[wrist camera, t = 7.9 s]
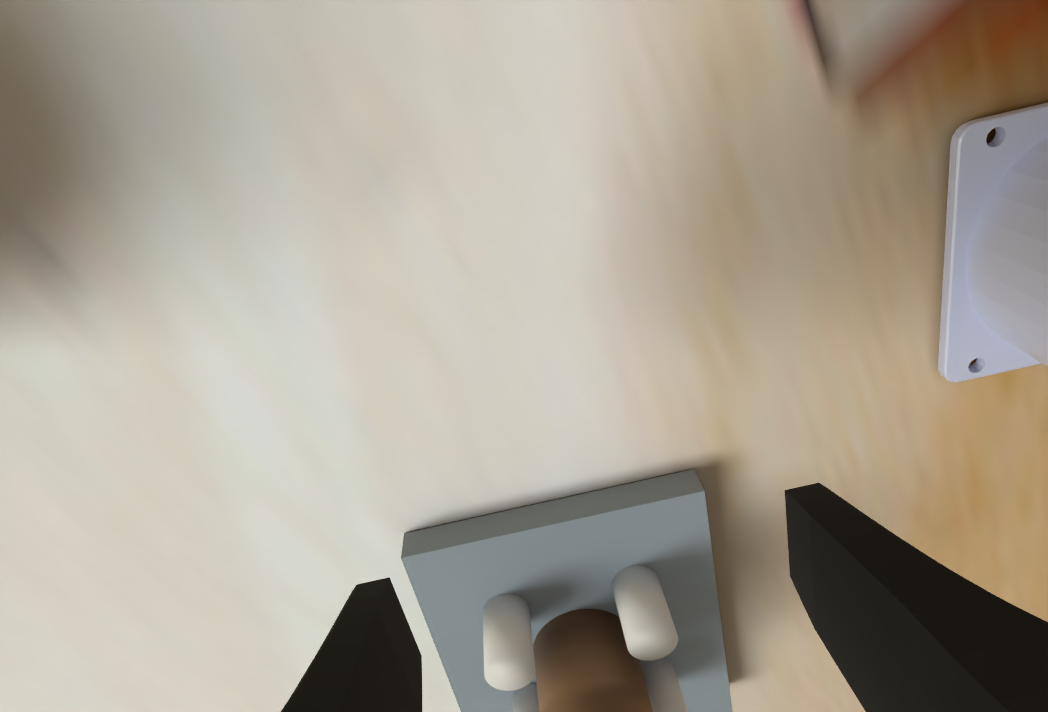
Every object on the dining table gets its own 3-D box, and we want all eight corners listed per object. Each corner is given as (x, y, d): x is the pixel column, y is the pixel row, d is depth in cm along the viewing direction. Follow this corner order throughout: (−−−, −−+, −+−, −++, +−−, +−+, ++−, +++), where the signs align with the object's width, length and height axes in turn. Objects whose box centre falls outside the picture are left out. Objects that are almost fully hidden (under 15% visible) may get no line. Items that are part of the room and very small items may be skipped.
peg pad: (693, 469, 23) (731, 543, 20) (722, 687, 28) (756, 776, 25) (404, 533, 23) (393, 617, 20) (482, 738, 28) (484, 833, 25)
